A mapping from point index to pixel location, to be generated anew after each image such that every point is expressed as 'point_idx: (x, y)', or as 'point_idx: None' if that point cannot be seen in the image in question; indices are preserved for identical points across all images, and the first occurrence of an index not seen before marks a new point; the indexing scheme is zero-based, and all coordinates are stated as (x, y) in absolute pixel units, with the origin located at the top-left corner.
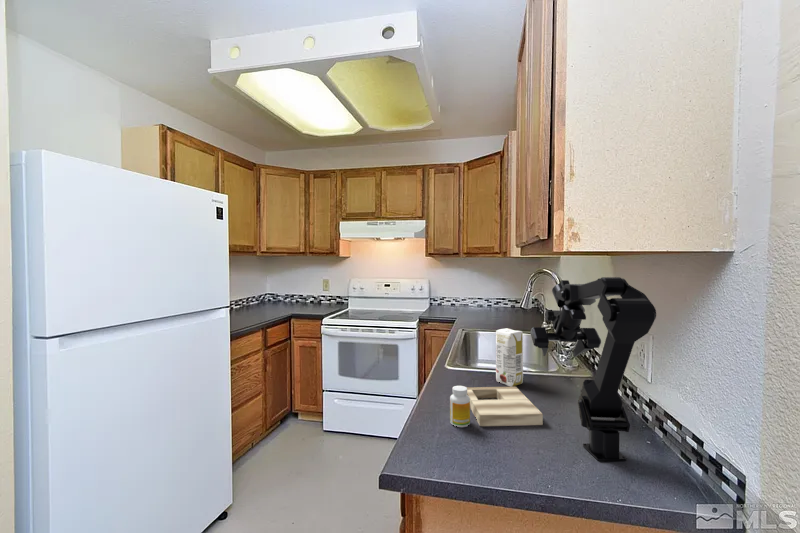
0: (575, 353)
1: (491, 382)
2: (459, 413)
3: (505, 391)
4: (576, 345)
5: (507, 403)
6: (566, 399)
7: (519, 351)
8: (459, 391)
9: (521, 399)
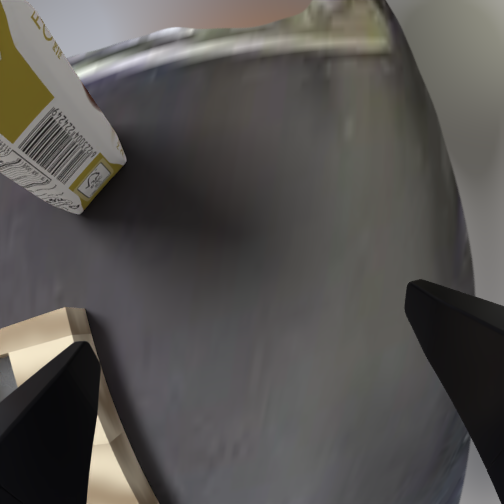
0: (431, 346)
1: None
2: None
3: (33, 373)
4: (502, 348)
5: None
6: (286, 296)
7: (29, 108)
8: None
9: None
